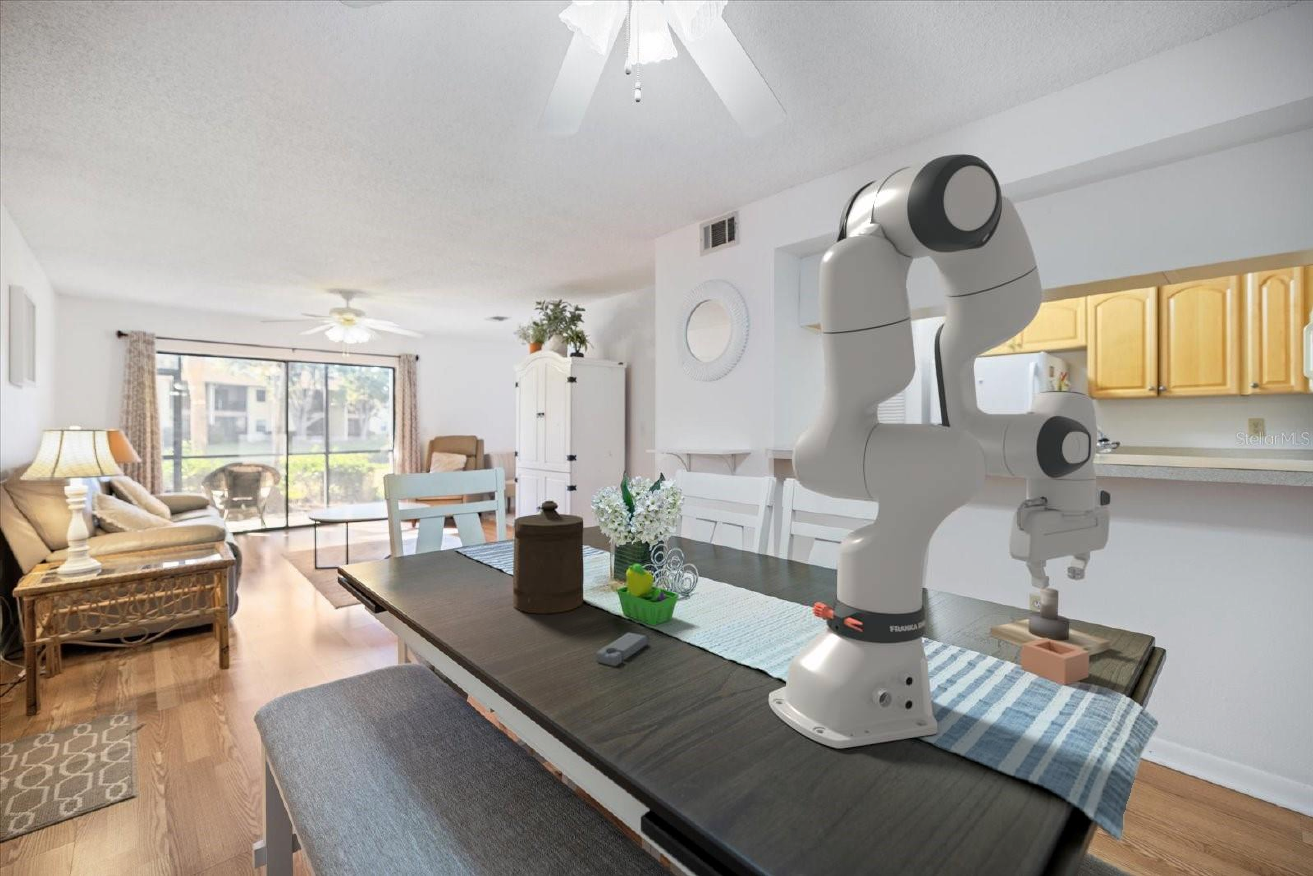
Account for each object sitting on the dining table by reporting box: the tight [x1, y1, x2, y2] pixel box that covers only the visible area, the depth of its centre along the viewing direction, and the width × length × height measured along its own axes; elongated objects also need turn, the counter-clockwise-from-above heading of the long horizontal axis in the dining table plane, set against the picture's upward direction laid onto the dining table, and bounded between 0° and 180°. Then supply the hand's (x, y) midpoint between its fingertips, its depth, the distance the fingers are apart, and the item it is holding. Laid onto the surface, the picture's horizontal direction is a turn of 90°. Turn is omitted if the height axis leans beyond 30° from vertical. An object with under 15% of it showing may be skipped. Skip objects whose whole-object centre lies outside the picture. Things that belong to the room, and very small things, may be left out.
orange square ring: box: [1020, 638, 1090, 686], centre depth 90 cm, size 6×6×4 cm
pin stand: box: [989, 587, 1111, 657], centre depth 102 cm, size 13×13×10 cm
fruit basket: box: [616, 563, 680, 626], centre depth 114 cm, size 11×9×11 cm
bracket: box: [595, 632, 647, 667], centre depth 96 cm, size 4×10×2 cm, turn 152°
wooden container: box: [512, 500, 585, 615], centre depth 122 cm, size 15×15×22 cm
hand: (1058, 583), depth 90 cm, fingers open, 8 cm apart
